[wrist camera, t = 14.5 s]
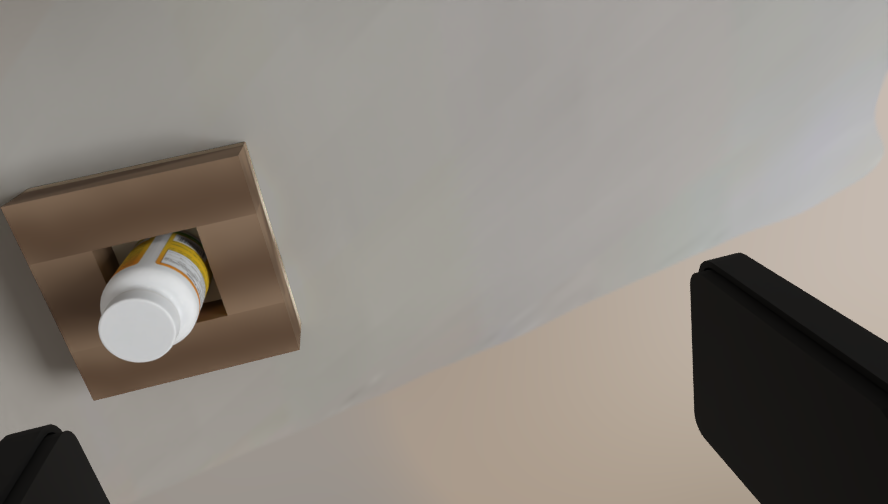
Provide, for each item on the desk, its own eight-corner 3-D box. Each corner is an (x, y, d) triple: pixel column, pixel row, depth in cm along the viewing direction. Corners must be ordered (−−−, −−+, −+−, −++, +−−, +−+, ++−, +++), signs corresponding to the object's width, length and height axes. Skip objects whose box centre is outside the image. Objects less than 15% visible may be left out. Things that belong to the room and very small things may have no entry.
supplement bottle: (136, 301, 45) (90, 377, 36) (126, 227, 43) (75, 288, 34) (217, 298, 46) (193, 372, 37) (211, 226, 44) (184, 285, 35)
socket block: (28, 188, 42) (0, 207, 38) (245, 141, 43) (238, 155, 39) (111, 369, 47) (93, 400, 44) (301, 322, 49) (299, 349, 45)
